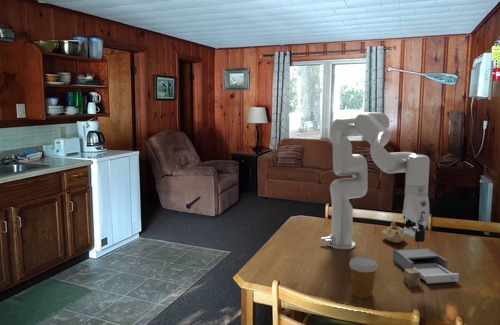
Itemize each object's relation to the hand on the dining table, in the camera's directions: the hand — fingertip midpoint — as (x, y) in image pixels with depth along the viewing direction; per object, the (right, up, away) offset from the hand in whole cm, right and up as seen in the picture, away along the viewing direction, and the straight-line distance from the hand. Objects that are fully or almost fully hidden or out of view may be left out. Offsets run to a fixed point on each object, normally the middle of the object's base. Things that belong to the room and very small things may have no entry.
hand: (413, 237), depth 144 cm
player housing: (+9, -15, +17) cm, 25 cm away
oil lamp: (+10, -11, +48) cm, 50 cm away
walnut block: (0, -17, +2) cm, 18 cm away
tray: (+10, -16, +8) cm, 21 cm away
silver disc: (0, +1, 0) cm, 1 cm away
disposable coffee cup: (-20, -19, -5) cm, 28 cm away
